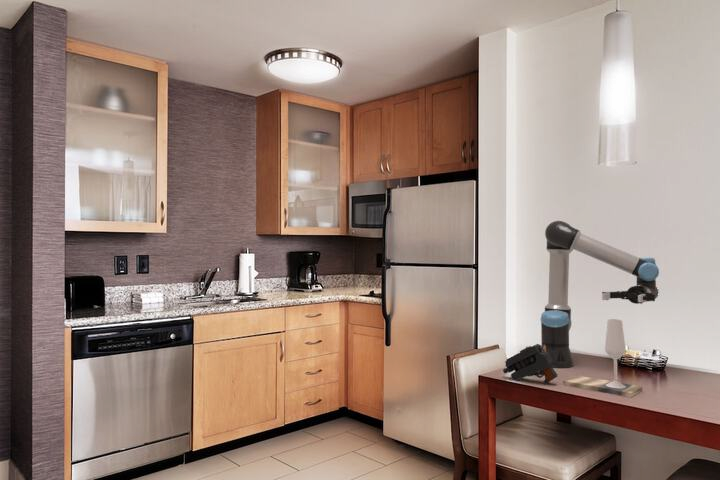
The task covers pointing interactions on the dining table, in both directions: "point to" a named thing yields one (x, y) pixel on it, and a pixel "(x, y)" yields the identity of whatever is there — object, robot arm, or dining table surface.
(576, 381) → the subfloor board
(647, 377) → the dining table surface
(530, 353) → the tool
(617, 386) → the champagne flute
